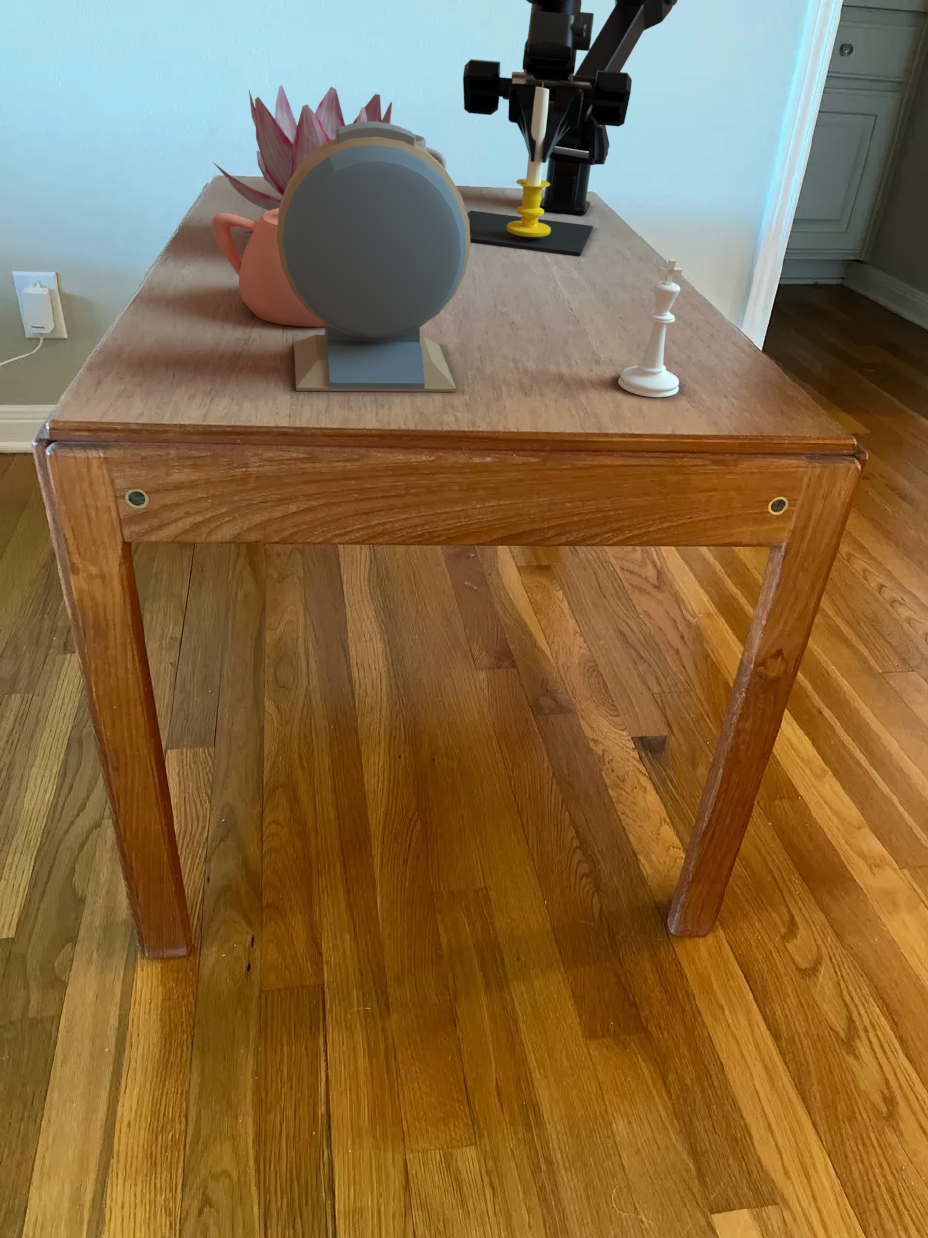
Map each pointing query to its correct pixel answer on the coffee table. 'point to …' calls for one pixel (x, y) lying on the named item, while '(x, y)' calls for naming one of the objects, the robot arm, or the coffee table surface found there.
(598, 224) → the coffee table surface
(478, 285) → the coffee table surface
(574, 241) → the mat
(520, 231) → the candle
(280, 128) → the decorative flower
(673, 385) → the chess piece
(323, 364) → the alarm clock
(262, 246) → the teapot
